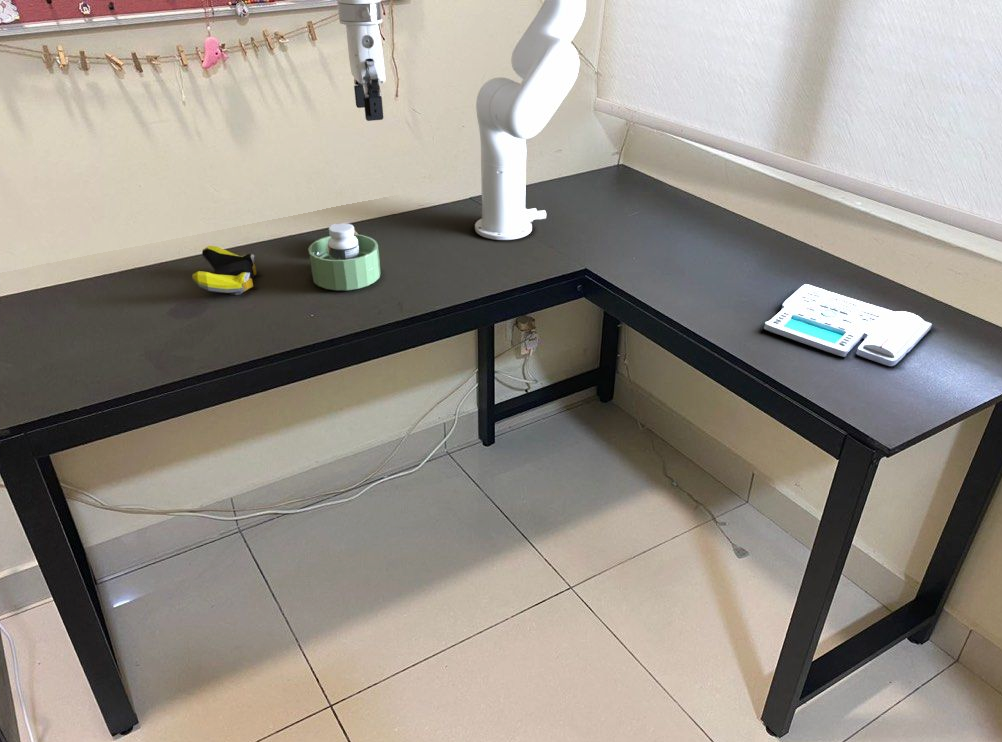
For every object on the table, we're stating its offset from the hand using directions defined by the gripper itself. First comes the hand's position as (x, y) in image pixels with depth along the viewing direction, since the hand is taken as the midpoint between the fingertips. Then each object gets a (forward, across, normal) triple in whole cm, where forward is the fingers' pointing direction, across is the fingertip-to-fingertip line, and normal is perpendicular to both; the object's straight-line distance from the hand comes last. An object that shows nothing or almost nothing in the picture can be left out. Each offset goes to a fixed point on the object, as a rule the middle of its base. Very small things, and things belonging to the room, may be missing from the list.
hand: (369, 113), depth 150 cm
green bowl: (+28, -10, +9) cm, 31 cm away
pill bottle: (+28, -10, +9) cm, 31 cm away
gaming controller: (+28, -5, +31) cm, 42 cm away
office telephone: (+28, -58, -70) cm, 95 cm away
